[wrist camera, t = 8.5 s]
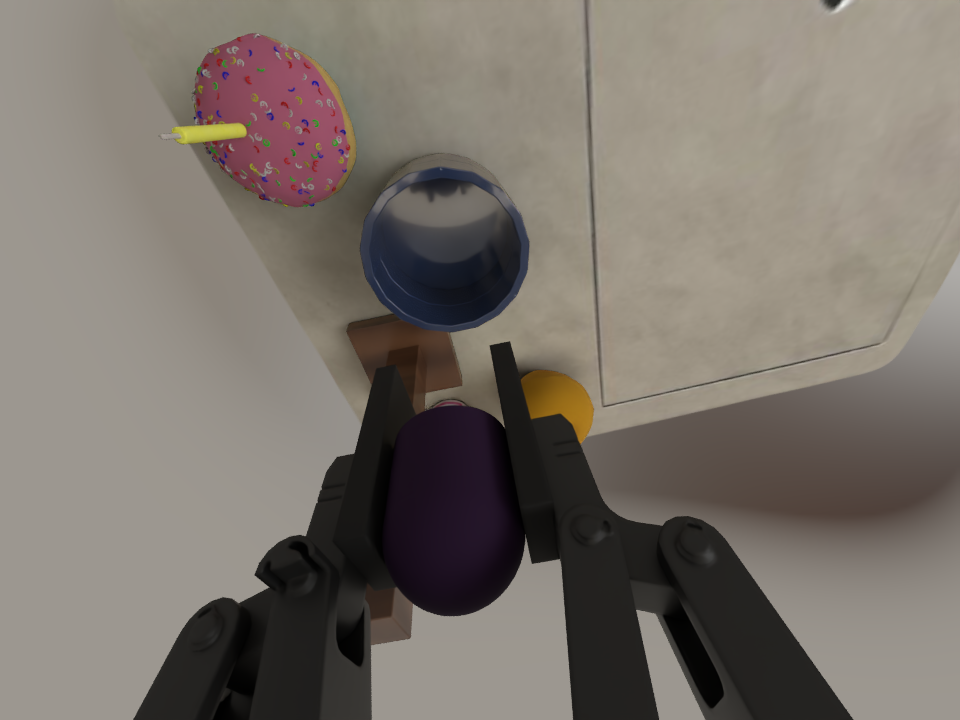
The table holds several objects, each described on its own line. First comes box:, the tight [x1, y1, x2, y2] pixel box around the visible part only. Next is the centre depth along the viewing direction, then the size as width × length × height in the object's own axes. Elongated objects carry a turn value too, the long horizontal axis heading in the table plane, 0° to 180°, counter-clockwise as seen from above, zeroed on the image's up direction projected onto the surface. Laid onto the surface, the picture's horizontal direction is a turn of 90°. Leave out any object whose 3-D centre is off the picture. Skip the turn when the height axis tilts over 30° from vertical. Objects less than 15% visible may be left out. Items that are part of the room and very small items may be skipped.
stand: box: [346, 314, 462, 645], centre depth 27 cm, size 9×9×24 cm
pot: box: [360, 153, 529, 332], centre depth 27 cm, size 11×11×7 cm
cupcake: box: [159, 34, 356, 207], centre depth 20 cm, size 9×8×12 cm
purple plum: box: [382, 405, 525, 616], centre depth 10 cm, size 4×4×5 cm
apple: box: [521, 370, 594, 444], centre depth 37 cm, size 9×9×9 cm
